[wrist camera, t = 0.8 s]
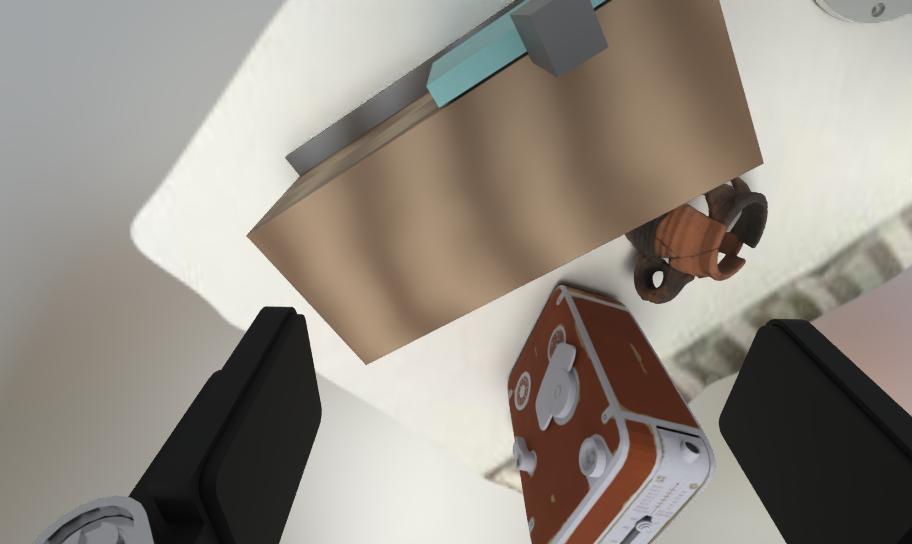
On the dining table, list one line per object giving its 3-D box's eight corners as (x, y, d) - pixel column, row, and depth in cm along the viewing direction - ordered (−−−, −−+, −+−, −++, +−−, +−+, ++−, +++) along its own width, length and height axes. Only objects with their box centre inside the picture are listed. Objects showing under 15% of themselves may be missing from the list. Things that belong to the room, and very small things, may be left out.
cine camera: (477, 412, 52) (492, 612, 35) (547, 270, 43) (614, 445, 26) (551, 429, 54) (600, 629, 36) (633, 296, 45) (751, 477, 27)
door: (603, -65, 30) (781, -153, 14) (617, -28, 31) (797, -70, 15) (428, 54, 33) (411, 93, 17) (446, 85, 34) (445, 148, 18)
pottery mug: (649, 143, 38) (749, 165, 32) (698, 178, 44) (790, 203, 38) (584, 273, 40) (666, 318, 34) (639, 290, 46) (717, 330, 40)
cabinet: (607, -63, 31) (690, -102, 20) (673, 120, 36) (763, 163, 26) (286, 156, 37) (224, 212, 27) (385, 280, 43) (366, 365, 33)
